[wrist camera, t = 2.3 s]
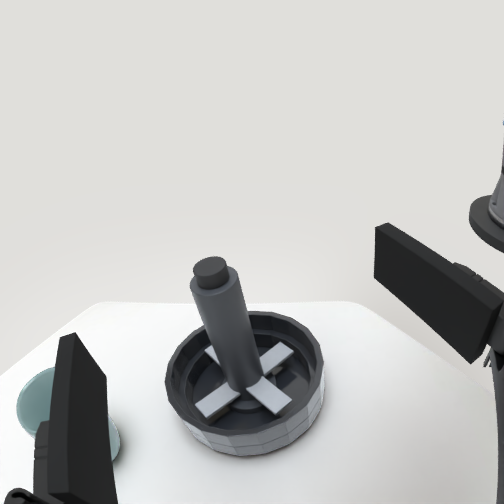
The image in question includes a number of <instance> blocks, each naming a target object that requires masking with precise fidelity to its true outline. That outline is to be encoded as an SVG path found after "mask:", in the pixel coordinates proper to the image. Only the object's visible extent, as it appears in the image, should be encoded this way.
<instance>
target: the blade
mask: <svg viewBox="0 0 504 504" xmlns="http://www.w3.org/2000/svg"><path fill="white" fill-rule="evenodd" d="M193 272H194V275H195V276H194V277H193V278H192V280H191V282H190V289H191V292H192V295H193V297H194V300H195V303H196V305H197V308H198V311H199V313H200V316H201V319H202V321H203V324H204V326H205V329H206V331H207V334H208V336H209V339H210V342H211V344H212V345H211V346H210V347H208V348H207V349H205V352H206V353H207V354H208V355H209V356H210V357H211V358H212V359H213V360H214V361H215V362H216V363H217V364H218V365H219V366H220V367H221V369H222V371H223V373H224V376H225V379H224V381H223V383H222V386H220V387H219V388H218V389H216V390H215V391H213V392H212V393H211V394H209V395H208V396H206V397H205V398H203V399H202V400H201V401H199V402H198V403H196V404H195V406H196V407H197V409H198V410H199V411H200V412H201V413H202V414H203V415H204V416H205V418H206V419H208V418H210V417H211V416H213V415H214V414H215V413H217V412H218V411H220V410H221V409H222V408H224V407H225V406H228V407H229V408H230V409H232V410H233V411H236V412H238V413H242V414H252V413H257V412H260V411H262V410H264V409H266V408H267V409H268V410H270V411H271V412H272V413H273V414H274V415H277V414H278V413H280V412H281V411H282V410H283V409H284V408H286V407H287V406H288V405H289V404H290V403H291V402H292V399H291V398H290V397H288V396H287V395H286V394H284V393H283V392H282V391H281V390H279V389H278V387H277V382H276V379H275V376H274V375H273V373H272V372H271V371H273V370H274V369H275V368H276V367H278V366H279V365H280V364H281V363H282V362H284V361H285V360H286V359H287V358H289V357H290V356H291V355H292V354H293V353H294V351H293V350H291V349H290V348H288V347H287V346H285V345H284V344H283V343H281V342H279V343H278V344H277V345H275V346H274V347H273V348H272V349H270V350H269V351H268V352H266V353H265V354H264V355H262V356H261V357H259V354H258V350H257V346H256V342H255V339H254V335H253V331H252V327H251V323H250V320H249V316H248V312H247V308H246V304H245V300H244V296H243V293H242V289H241V285H240V281H239V277H238V273H237V272H236V270H235V269H233V268H232V267H229V266H227V264H226V261H225V260H224V259H223V258H221V257H208V258H205V259H202V260H200V261H199V262H198V263H196V264H195V266H194V268H193Z"/></svg>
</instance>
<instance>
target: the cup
mask: <svg viewBox="0 0 504 504" xmlns="http://www.w3.org/2000/svg"><path fill="white" fill-rule="evenodd" d="M54 371H55V367H53V368H49V369H46V370H44V371H42V372H40V373H39V374H37V375H36V376H35V377H33V378H32V379H31V380H30V381H29V382H28V383H27V384H26V385H25V386H24V388H23V389H22V391H21V393H20V395H19V397H18V400H17V416H18V420H19V422H20V424H21V426H22V427H23V429H24V430H25V431H26V432H27V433H28V434H29V435H30V436H32V437H33V438H34V439H35V434H36V432H37V429H38V427H39V425H40V422H42V421H47V420H49V415H50V404H51V394H52V386H53V378H54ZM108 422H109V436H110V447H111V456H112V461H113V460H114V459H115V458H116V456H117V454H118V452H119V449H120V436H119V433H118V430H117V428H116V426H115V424H114V422H113V421H112V419H111V417H110V416H109V415H108Z"/></svg>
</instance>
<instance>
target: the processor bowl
mask: <svg viewBox="0 0 504 504" xmlns="http://www.w3.org/2000/svg"><path fill="white" fill-rule="evenodd" d="M247 312H248V316H249V320H250V323H251V327H252V331H253V335H254V339H255V342H256V346H257V350H258V354H259V357H261V356H262V355H264V354H265V353H266V352H268V351H269V350H270V349H272V348H273V347H274V346H275V345H277V344H278V343H279V342H281V343H283V344H284V345H285V346H287V347H288V348H290V349H291V350H293V351H294V353H293V354H292V355H291V356H290V357H289V358H287V359H286V360H285V361H284V362H282V363H281V364H280V365H279V366H278V367H276V368H275V369H274V370H273V371H271V372H272V373H273V375H274V376H275V379H276V382H277V387H278V389H279V390H281V391H282V392H283V393H284V394H286V395H287V396H288V397H290V398H291V399H292V402H291V403H290V404H289V405H288V406H287V407H286V408H284V409H283V410H282V411H281V412H280V413H278V414H277V415H274V414H273V413H272V412H271V411H270V410H268V409H267V408H266V409H264V410H262V411H260V412H257V413H252V414H242V413H238V412H236V411H233V410H232V409H230V408H229V407H228V406H225V407H224V408H222V409H221V410H220V411H218V412H217V413H215V414H214V415H213V416H211V417H210V418H208V419H206V418H205V416H204V415H203V414H202V413H201V412H200V411H199V410H198V409H197V407H196V406H195V404H196V403H198V402H199V401H201V400H202V399H203V398H205V397H206V396H208V395H209V394H211V393H212V392H213V391H215V390H216V389H218V388H219V387H220V386H222V383H223V381H224V379H225V376H224V373H223V371H222V369H221V367H220V366H219V365H218V364H217V363H216V362H215V361H214V360H213V359H212V358H211V357H210V356H209V355H208V354H207V353H206V352H205V349H207V348H208V347H210V346H211V345H212V344H211V342H210V339H209V336H208V334H207V331H206V329H205V326H204V325H203V326H202V327H200V328H198V329H197V330H195V331H193V332H192V333H191V334H190V335H189V336H188V337H187V338H186V339H185V340H184V341H183V342H182V343H181V344H180V345H179V346H178V347H177V349H176V350H175V352H174V354H173V356H172V357H171V359H170V361H169V363H168V367H167V372H166V377H165V386H166V391H167V396H168V400H169V402H170V404H171V405H172V407H173V408H174V409H175V411H176V412H177V414H178V415H179V416H180V418H181V419H182V420H183V422H184V423H185V424H186V426H187V427H188V428H189V430H190V431H191V432H192V434H193V435H194V436H195V438H196V439H197V440H199V441H200V442H202V443H204V444H205V445H207V446H209V447H210V448H212V449H213V450H216V451H219V452H223V453H228V454H232V455H237V456H246V455H257V454H265V453H268V452H271V451H273V450H276V449H278V448H281V447H283V446H286V445H288V444H290V443H292V442H293V441H294V440H295V439H297V438H298V437H299V436H300V435H301V434H303V433H304V432H305V431H306V430H307V429H309V427H310V426H311V424H312V423H313V421H314V419H315V418H316V416H317V414H318V413H319V411H320V409H321V406H322V400H323V395H324V389H325V387H324V361H323V357H322V353H321V349H320V345H319V343H318V341H317V340H316V339H315V337H314V336H313V335H312V333H311V332H310V331H309V329H308V328H307V327H305V326H303V325H302V324H300V323H299V322H297V321H296V320H294V319H293V318H290V317H287V316H284V315H281V314H277V313H274V312H263V311H247Z"/></svg>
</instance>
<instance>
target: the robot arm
mask: <svg viewBox="0 0 504 504" xmlns="http://www.w3.org/2000/svg"><path fill="white" fill-rule="evenodd" d="M503 125H504V121H503ZM488 215H489V217H490V218H491V220H492V221H493V222H494V223H495V224H496V225H497V226H499V227H500V228H501V229H503V230H504V145H503V159H502V171H501V176H500V179H499V181H498V183H497V186H496V188H495V190H494V193H493V194H492V197H491V199H490V201H489V207H488ZM374 278H375V279H376V280H377V281H378V282H379V283H381V284H382V285H383V286H384V287H385V288H387V289H388V290H389V291H390V292H391V293H392V294H394V295H395V296H396V297H397V298H398V299H399V300H400V301H402V302H403V303H404V304H405V305H406V306H407V307H409V308H410V309H411V310H412V311H413V312H414V313H415V314H416V315H417V316H419V317H420V318H421V319H422V320H423V321H424V322H425V323H426V324H428V325H429V326H430V327H431V328H432V329H433V330H434V331H435V332H436V333H437V334H439V335H440V336H441V337H442V338H443V339H444V340H445V341H446V342H447V343H448V344H449V345H450V346H452V347H453V348H454V349H455V350H456V351H457V352H458V353H459V354H460V355H461V356H462V357H463V358H464V359H465V360H466V361H468V363H470V364H472V363H473V362H474V361H475V360H476V359H477V358H479V356H481V355H482V354H483V351H484V349H485V347H486V345H487V344H488V345H489V346H491V349H490V351H489V353H488V355H487V357H486V359H485V361H484V367H486V366H487V364H488V362H489V360H491V363H490V365H489V367H492V374H493V382H494V390H495V399H496V411H497V426H498V488H497V502H496V504H504V293H503V292H502V291H501V290H499V289H498V288H497V287H495V286H494V285H492V284H491V283H489V282H488V281H487V280H484V279H483V278H482V277H481V276H480V275H478V274H477V275H476V273H475V272H474V271H472V270H471V269H469V268H468V267H466V266H464V265H461V264H458V263H453V264H452V263H451V262H450V261H448V260H447V259H445V258H444V257H442V256H440V255H439V254H437V253H436V252H434V251H433V250H431V249H430V248H428V247H427V246H425V245H423V244H422V243H420V242H419V241H417V240H416V239H414V238H413V237H411V236H409V235H408V234H406V233H405V232H403V231H401V230H399V229H398V228H396V227H394V226H393V225H391V224H390V223H385V224H383V225H380V226H377V227H375V261H374ZM34 458H35V460H34V475H33V494H32V493H30V492H29V491H27V490H25V489H22V488H15V489H13V490H11V491H10V492H9V493H8V494H7V496H6V498H5V502H4V504H118V500H117V494H116V488H115V481H114V473H113V465H112V456H111V447H110V436H109V422H108V406H107V377H106V375H105V374H104V373H103V371H102V370H101V369H100V367H99V366H98V365H97V363H96V362H95V360H94V359H93V358H92V356H91V355H90V353H89V352H88V350H87V349H86V347H85V346H84V344H83V343H82V341H81V340H80V338H79V337H78V335H77V334H76V332H75V333H72V334H69V335H66V336H62V337H60V340H59V345H58V351H57V357H56V364H55V371H54V378H53V386H52V394H51V404H50V415H49V420H47V421H42V422H40V425H39V427H38V429H37V432H36V434H35V450H34Z"/></svg>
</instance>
